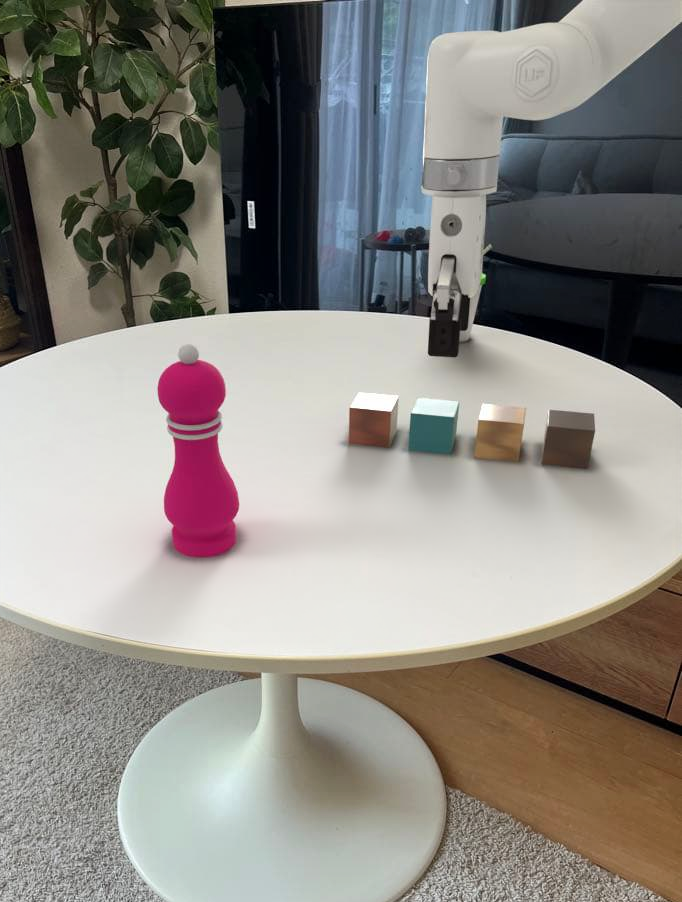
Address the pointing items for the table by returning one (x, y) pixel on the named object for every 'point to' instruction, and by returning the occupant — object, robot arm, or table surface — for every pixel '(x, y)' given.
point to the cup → (473, 306)
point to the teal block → (433, 425)
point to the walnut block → (568, 439)
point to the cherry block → (373, 420)
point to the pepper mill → (197, 458)
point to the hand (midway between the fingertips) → (448, 342)
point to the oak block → (500, 432)
